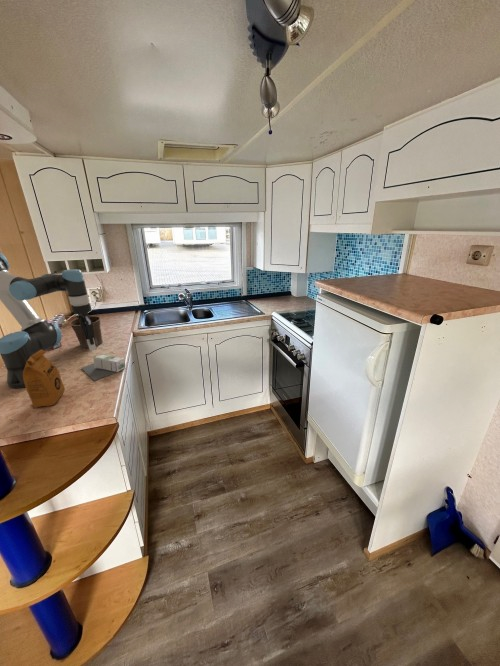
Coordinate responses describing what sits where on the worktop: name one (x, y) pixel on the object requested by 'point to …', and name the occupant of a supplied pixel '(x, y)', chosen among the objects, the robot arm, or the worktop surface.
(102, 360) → the syrup box
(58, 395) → the coffee package
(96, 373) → the rubber mat
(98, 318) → the plant pot
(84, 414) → the worktop surface
